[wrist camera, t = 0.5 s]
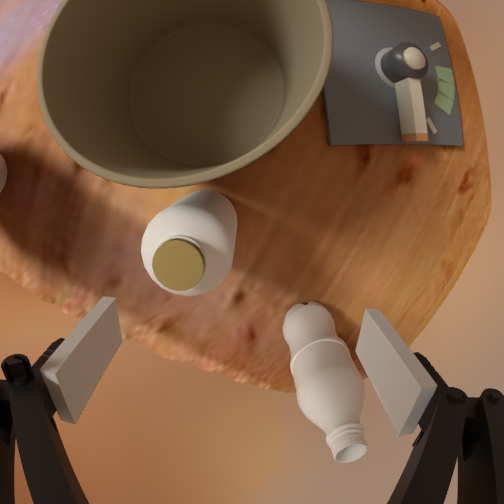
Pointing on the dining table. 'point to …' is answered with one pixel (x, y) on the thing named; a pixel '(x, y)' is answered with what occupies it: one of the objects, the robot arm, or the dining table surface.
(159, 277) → the potion bottle
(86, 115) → the planter
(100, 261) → the dining table surface
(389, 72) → the peg lever
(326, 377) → the water bottle
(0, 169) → the vase
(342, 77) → the dial board
